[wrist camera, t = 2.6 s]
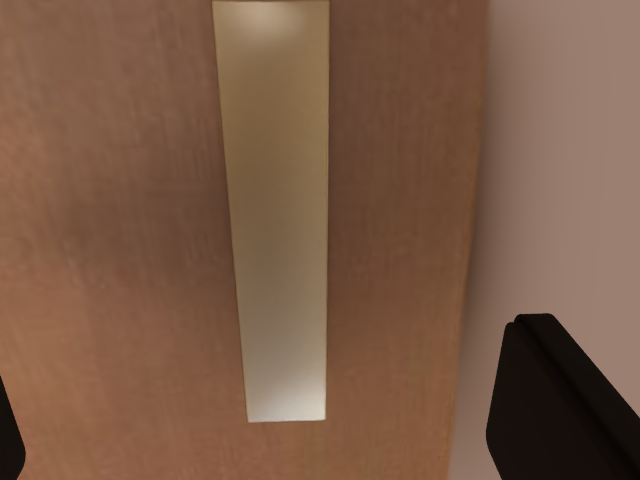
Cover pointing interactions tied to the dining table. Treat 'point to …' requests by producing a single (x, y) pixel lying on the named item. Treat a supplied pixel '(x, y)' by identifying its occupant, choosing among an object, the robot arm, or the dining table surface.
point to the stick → (277, 196)
